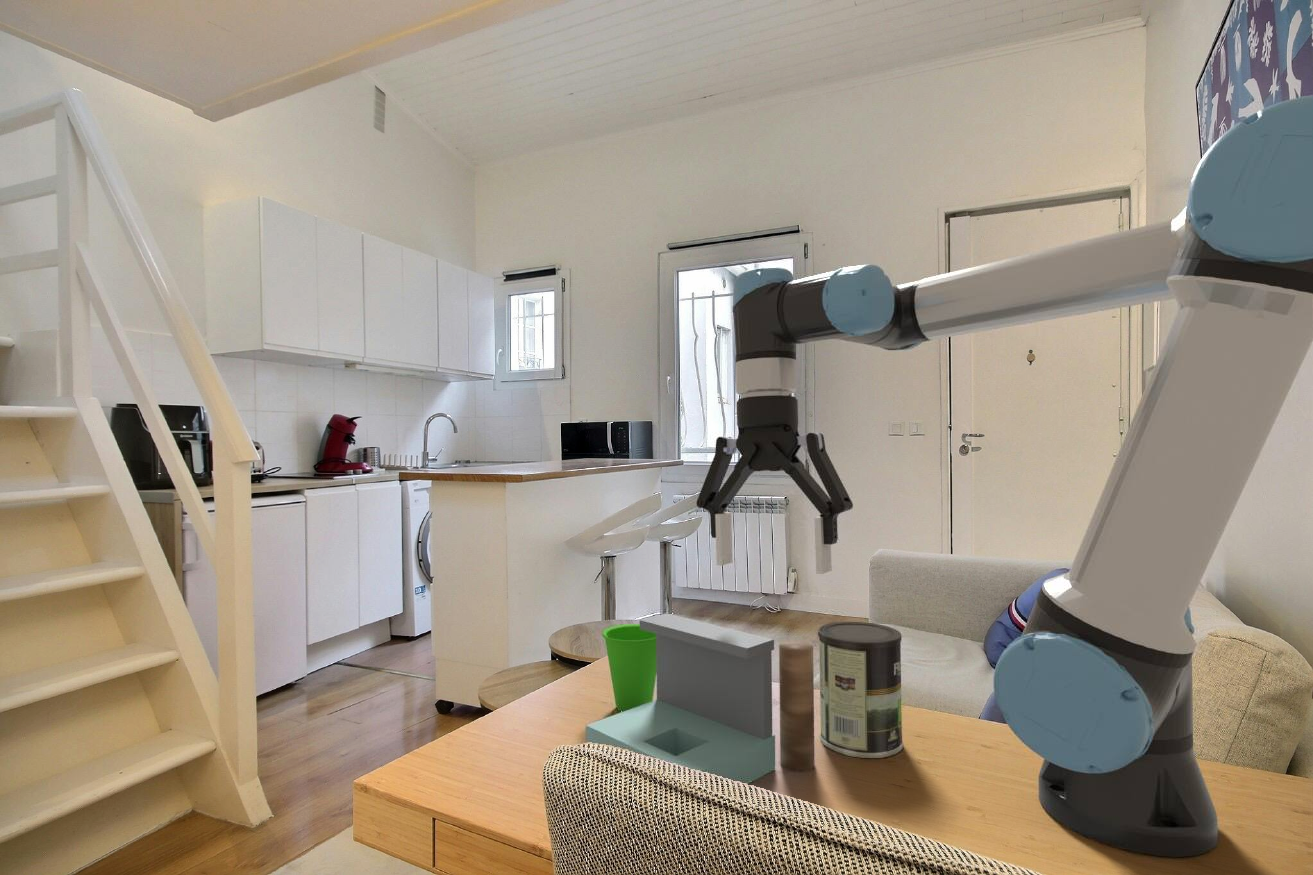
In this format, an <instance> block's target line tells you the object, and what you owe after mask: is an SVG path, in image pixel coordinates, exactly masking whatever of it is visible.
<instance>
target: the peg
mask: <svg viewBox="0 0 1313 875" xmlns="http://www.w3.org/2000/svg"><path fill="white" fill-rule="evenodd" d="M778 658H779V659H778V660H779V661H778V662H779V663H778V664H779V666H778V667H779V669H778V671H779V672H778V673H779V756H780V757H779V758H780V760H779V762H780V766H782V768H784V769H785V770H788V771H791V770H792V772H798V773H799V772H800V773H801V772H808V771H811V770H812V769H814V767H815V702H814V701H815V693H814V690H815V688H814V686H815V684H814V681H815V680H814V678H815V677H814V676H815V675H814V646H813V644H810V643H809V642H804V641H785V642H782V643H781V642H780V644H778Z"/></svg>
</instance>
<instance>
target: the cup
mask: <svg viewBox="0 0 1313 875" xmlns="http://www.w3.org/2000/svg"><path fill="white" fill-rule="evenodd" d="M601 635H602V637H603V638H604V640H605V641H604V642H605V647H606V652H607V660H608V665H609V671H610V677H611V682H612V683H611V684H612V689H613V696H614V702H615V703H614V704H615V707H616V708H617V711H618V712H620V711H622V712H624V711H627V710H629V709H632V708H635V707H638V706H640V705H643V704H646V703H649V702H652V701H654V700H653V699H654V695H655V694H654V692H655V686H656V681H657V668H656V634H655V633H651V632H648V631H644V630H641V629H640V623H627V624H620V625H619V624H618V625H614V626H610V627H608V628H606V629H604V630H603V631H602V633H601Z"/></svg>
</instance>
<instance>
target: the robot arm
mask: <svg viewBox="0 0 1313 875" xmlns="http://www.w3.org/2000/svg"><path fill="white" fill-rule="evenodd" d="M1189 185H1190V186H1189V188H1188V189H1189V190H1188V197H1187V199H1186V206H1185V207H1184V208H1183V210H1182V211H1181V212H1180V213H1179V214H1178V215H1177V216H1175V217H1174V218H1171V219H1168V220H1164V221H1160V222H1156V223H1151V224H1147V225H1143V226H1138V227H1134V228H1130V229H1126V230H1122V231H1118V232H1114V233H1110V234H1105V235H1100V236H1096V237H1093V238H1087V239H1085V240H1080V241H1077V242H1073V243H1069V244H1064V245H1059V246H1055V247H1051V248H1046V249H1043V250H1039V251H1035V252H1031V253H1026V254H1022V255H1018V256H1013V257H1010V258H1005V259H1001V260H997V261H993V262H992V261H991V262H989V263H984V264H980V265H976V266H973V267H971V266H970V267H968V268H964V269H960V270H955V271H951V272H947V273H943V274H938V275H934V276H931V277H926V278H922V279H919V280H915V281H911V282H910V281H909V282H906V283H902V284H897V285H892V282H891V279H890V278H889V276H888V275H887V274H885V272H884V269H882V268H881V267H880V266H878V265H876V264H868V263H867V264H862V265H855V266H853V265H849V266H843V268H837V270H833V271H828V272H825V273H821V274H817V275H813V276H808V277H804V278H801V279H797V280H796V279H794V278H795V277H794V275H793V273H792V271H790V270H789V269H786V268H783V267H778V266H777V267H776V266H771V267H770V266H767V267H761V268H752V269H747V270H745V271H743V272H741V273H739V274H738V275H737V277H736V278H735V280H734V282H733V283H734V284H733V303H732V304H733V305H732V314H733V328H734V343H735V344H734V345H735V357H734V358H735V393H736V394H737V395H739V396H740V398H739V399H738V400H737V401H736V425H737V428H738V436H737V438H733V437H731V436H718V437H717V438H716V440H715V451H714V453H715V454H714V456H713V459H712V460H711V461H712V462H711V464H710V466H709V469H708V472H707V473H706V474H707V475H706V477H705V478H704V482H703V484H702V487H701V489H700V492H699V494H698V497H697V500H696V507H697V508H698V509H703V510H706V511H708V513H709V516H710V518H709V519H710V520H709V521H710V535H711V538H713V539H715V548H716V550H715V551H716V554H715V555H716V566H725V565H729V564H733V559H734V558H733V533H732V532H733V528H732V526H733V525H732V512H727V511H728V509H727V508H728V506H730V504H731V503H732V502H733V500H734V498H736V496H737V494H738V493H739V491H740V490H741V488H742V487H743V486H744V484H745V483H746V481H747V480H748V479H749V477H750V476H751V475H752V474H753V473H755V472H767V471H770V472H783V471H784V473H785V474H786V475H788V476H789V477H790V478H791V480H792V481H793V482H794V483H795V484H796V485H797V487H798V488H799V489H800V490H801V492H802V493H803V494H804V495H805V496H806V498H807V499H808V500H809V501H810V502H811V504H812V505H813V506H814V508H815V509H816V510H817V511H818V512H819V516H815V517H814V541H815V542H814V545H815V547H814V549H815V571H816V572H815V573H816V574H817V575H819V574H820V575H824V574H826V573H829V572H832V571H833V570H832V545H834V544H837V542H838V540H839V536H838V516H839V515H840V514H842V513H844V512H847V511H850V510H852V509H853V507H854V505H853V504H854V503H853V500H851V498H850V495H849V493H848V492H847V490H846V488H845V486H844V483H843V482H842V480H841V478H840V476H839V474H838V472H837V470H836V468H835V466H834V463H833V462H832V461H831V458H830V456H829V454H828V453H827V449H826V443H825V436H824V434H823V433H820V432H808V433H807V434H805V435H800V434H799V431H798V428H799V427H798V426H799V403H798V402H799V400H798V399H797V397H796V396H793V394H795V392H797V391H798V380H797V379H798V377H797V344H798V345H799V344H800V345H801V344H807V343H810V342H811V343H812V342H819V341H826V340H839V341H846V342H850V343H851V342H852V343H854V344H855V343H857V344H862V345H868V346H871V347H872V346H873V347H876V348H880V349H884V350H887V351H906V350H907V351H908V350H912V349H914V348H916V347H918V346H920V345H921V344H922V343H926V342H929V341H933V340H938V339H939V340H940V339H945V338H949V337H950V338H951V337H957V336H963V335H968V334H974V333H981V332H985V331H991V330H998V329H1003V328H1004V329H1005V328H1009V327H1014V326H1021V325H1026V324H1032V323H1037V322H1039V323H1040V322H1044V321H1050V320H1051V321H1052V320H1055V319H1056V320H1057V319H1062V318H1067V317H1068V318H1069V317H1074V316H1080V315H1085V314H1092V313H1097V312H1103V311H1111V310H1115V309H1121V308H1127V307H1132V306H1138V305H1144V304H1150V303H1157V302H1161V301H1168V300H1173V299H1175V300H1176V303H1177V307H1178V309H1177V311H1176V314H1175V317H1174V318H1173V320H1172V324H1171V326H1170V328H1169V331H1168V333H1167V335H1166V337H1165V339H1164V340H1165V341H1164V343H1163V345H1162V347H1161V350H1160V352H1159V355H1158V358H1157V360H1156V362H1155V365H1154V367H1153V369H1152V370H1151V371H1152V372H1151V374H1150V376H1149V378H1148V380H1147V383H1146V385H1145V388H1144V391H1143V393H1142V396H1141V397H1140V398H1141V399H1140V400H1139V403H1138V405H1137V408H1136V410H1135V412H1134V415H1133V417H1132V420H1131V422H1130V424H1129V427H1128V429H1127V431H1126V434H1125V437H1124V439H1123V441H1122V444H1121V446H1120V449H1119V451H1118V453H1117V456H1116V458H1115V461H1114V463H1113V465H1112V468H1111V470H1110V473H1109V475H1108V477H1107V479H1106V481H1105V482H1106V483H1105V484H1104V487H1103V489H1102V491H1101V494H1100V497H1099V499H1098V502H1097V504H1096V507H1095V509H1094V511H1093V513H1092V516H1091V518H1090V520H1089V523H1088V526H1087V529H1086V530H1085V533H1084V534H1083V535H1084V536H1083V538H1082V540H1081V543H1080V545H1079V548H1078V550H1077V551H1076V555H1075V557H1074V559H1073V562H1072V564H1071V567H1070V569H1069V571H1068V572H1066V573H1063V574H1060V575H1056V576H1054V577H1051V578H1048V579H1045V580H1044V582H1043V583H1042V586H1041V588H1040V590H1039V593H1038V595H1037V597H1036V599H1035V602H1034V605H1033V608H1032V610H1031V612H1030V614H1029V616H1028V619H1027V622H1026V623H1025V627H1024V629H1023V630H1022V633H1021V635H1020V636H1018V637H1016V638H1015V639H1013V641H1012V642H1010V643H1008V644H1007V645H1006V648H1005V649H1004V650H1003V651H1002V653H1001V655H1000V657H999V659H998V660H997V663H996V666H995V668H994V673H993V680H992V681H993V692H994V697H995V701H996V704H997V707H998V708H999V710H1000V711H1001V714H1002V716H1003V719H1005V723H1006V724H1007V726H1008V727H1009V729H1010V730H1011V732H1012V733H1014V735H1015V736H1016V737H1017V738H1018V739H1019V740H1020V741H1021V743H1023V745H1025V746H1026V747H1027V748H1028V749H1030V750H1031V751H1033V752H1034V753H1035V754H1037V755H1038V756H1039V757H1041V758H1043V759H1044V760H1043V762H1042V765H1041V768H1040V770H1039V773H1038V799H1039V803H1040V805H1041V806H1042V807H1043V809H1044V810H1045V811H1046V812H1047V813H1048V814H1049V815H1050V816H1051V817H1052V818H1054V819H1055V820H1057V821H1058V822H1059V823H1061V824H1062V825H1064V826H1065V827H1067V828H1069V829H1071V830H1073V831H1074V832H1077V833H1079V834H1081V835H1083V836H1084V837H1087V838H1089V839H1092V840H1094V841H1097V842H1100V843H1103V844H1104V845H1108V846H1112V847H1115V848H1118V849H1121V850H1125V851H1129V852H1134V853H1139V854H1145V855H1151V856H1159V857H1172V858H1173V857H1175V858H1177V857H1178V858H1179V857H1180V858H1181V857H1182V858H1183V857H1193V856H1199V855H1201V854H1206V853H1207V852H1210V851H1211V850H1213V849H1214V848H1216V846H1217V844H1218V842H1219V839H1218V838H1219V827H1218V825H1219V823H1218V821H1219V819H1218V814H1217V810H1216V807H1215V805H1214V802H1213V800H1212V797H1211V794H1210V792H1209V789H1208V787H1207V784H1206V781H1205V779H1204V776H1203V774H1202V771H1201V768H1200V766H1199V764H1198V760H1197V758H1196V756H1195V751H1194V750H1195V749H1194V710H1193V709H1194V707H1193V706H1194V702H1193V697H1194V696H1193V655H1194V653H1195V649H1196V647H1197V642H1196V640H1195V638H1194V636H1193V635H1194V634H1195V627H1194V625H1193V624H1192V618H1191V617H1192V616H1191V609H1190V608H1191V607H1190V604H1191V602H1192V600H1193V598H1194V595H1195V593H1196V591H1197V589H1198V587H1199V586H1200V582H1201V580H1202V579H1203V577H1204V574H1205V572H1206V570H1207V568H1208V566H1209V563H1210V561H1211V559H1212V558H1213V555H1214V552H1215V551H1216V548H1217V547H1218V544H1219V543H1220V540H1221V538H1222V535H1223V533H1224V531H1225V529H1226V527H1227V525H1228V523H1229V522H1230V519H1231V516H1232V514H1233V512H1234V510H1235V508H1236V506H1237V504H1238V501H1239V500H1240V497H1241V495H1242V494H1243V491H1244V488H1245V487H1246V484H1247V483H1248V480H1249V479H1250V476H1251V473H1252V472H1253V469H1254V468H1255V465H1256V463H1257V460H1258V458H1259V457H1260V454H1261V452H1262V450H1263V448H1264V445H1265V444H1266V441H1267V439H1268V438H1269V435H1270V433H1271V431H1272V428H1273V427H1274V424H1275V422H1276V420H1277V418H1278V416H1279V414H1280V411H1281V409H1282V407H1283V405H1284V403H1285V401H1286V399H1287V396H1288V394H1289V392H1290V390H1291V388H1292V385H1293V384H1294V381H1295V379H1296V377H1297V375H1298V373H1299V371H1300V368H1301V366H1302V364H1303V362H1304V361H1305V358H1306V357H1307V356H1306V355H1307V354H1308V351H1309V349H1310V347H1311V346H1312V342H1313V94H1311V95H1303V96H1299V97H1295V98H1291V99H1286V100H1283V101H1280V102H1277V103H1274V104H1271V105H1269V106H1266V107H1264V108H1262V109H1260V110H1259V111H1257V112H1255V113H1253V114H1251V115H1249V116H1247V117H1246V118H1244V119H1243V120H1241V121H1239V122H1237V123H1236V124H1235V125H1233V126H1231V127H1230V128H1229V129H1228V130H1226V131H1225V132H1224V133H1223V134H1222V135H1221V136H1220V137H1218V139H1216V141H1215V142H1214V143H1212V145H1211V146H1210V147H1209V148H1208V149H1207V151H1206V152H1205V153H1204V155H1203V156H1202V158H1201V159H1200V160H1199V162H1198V164H1197V166H1196V168H1195V170H1194V171H1193V175H1192V178H1191V181H1190V184H1189ZM801 447H802V448H803V450H804V451H805V452H806V453H808V455H809V458H810V460H811V462H812V463H811V464H812V465H813V466H814V468H815V470H816V473H817V475H818V476H819V479H820V480H821V483H822V485H823V487H824V488H825V490H826V492H827V493H826V492H825V491H824V489H823V488H822V487H821V486H820V484H819V483H818V482H817V481H816V479H814V477H813V476H812V474H810V473H809V471H808V470H807V469H806V465H805V464H804V463H803V462H802V460H801V459H800V458H799V456H797V454H798V452H799V450H800V448H801ZM736 451H738V452H739V453H740V455H741V457H740V458H739V459H738V460H737V462H736V463H735V465H734V467H733V468H734V469H733V470H732V471H731V474H730V475H729V476H728V478H727V479H726V481H725V483H724V484H722V483H723V481H724V478H725V476H726V474H727V472H728V470H729V466H730V463H731V461H732V459H733V455H734V454H735V453H736Z"/></svg>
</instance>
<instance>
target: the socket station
mask: <svg viewBox="0 0 1313 875" xmlns="http://www.w3.org/2000/svg"><path fill="white" fill-rule="evenodd" d="M639 624H640V629H641V630H644V631H648V632H651V633H655V634H656V668H657V673H656V699H655V700H653V701H652V702H649V703H646V704H643V705H640V706H638V707H635V708H632V709H629V710H627V711H624V712H619V713H616V714H614V715H610V716H608V717H604V718H603V719H600V720H596V721H594V722H591V723H589V724H586V725H585V743H586V742H592V743H598V744H606V745H612V746H614V747H620V748H622V749H628V750H629V751H633V752H635V753H638V754H643V755H645V756H650V757H653V758H658V759H660V760H664V761H666V762H670V763H676V764H678V765H681V766H684V767H688V768H690V769H695V770H700V771H702V772H708V773H710V774H715V775H717V776H722V777H723V778H728V779H731V780H733V781H740V782H742V783H748V784H747V785H749V784H750V781H753V782H754V781H756V780H758V779H760V778H762V777H764V776H765V775H767V774H770V773H771V772H773V771H775V770H776V734H773V677H772V676H773V672H772V671H773V670H772V669H773V668H772V667H773V666H772V665H773V664H772V651H774V650H775V640H774V639H773V638H769V637H765V636H762V635H757V634H754V633H753V634H752V633H748V632H745V631H741V630H736V629H732V628H729V627H728V628H727V627H723V626H721V625H717V624H716V625H715V624H712V623H709V622H704V621H700V620H696V619H692V618H687V617H684V616H679V615H675V614H671V613H663V614H659V615H655V616H651V617H646V618H642V619H639ZM774 769H775V770H774ZM772 770H773V771H772Z"/></svg>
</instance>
